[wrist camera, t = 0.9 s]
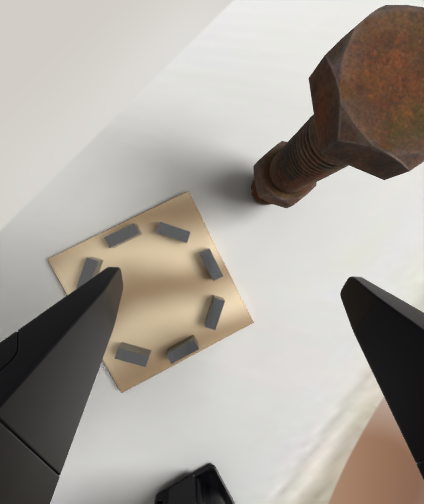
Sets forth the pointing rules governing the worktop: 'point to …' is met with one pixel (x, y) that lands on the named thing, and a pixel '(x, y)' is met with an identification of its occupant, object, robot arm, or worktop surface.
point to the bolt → (356, 110)
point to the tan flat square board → (159, 288)
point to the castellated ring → (191, 344)
